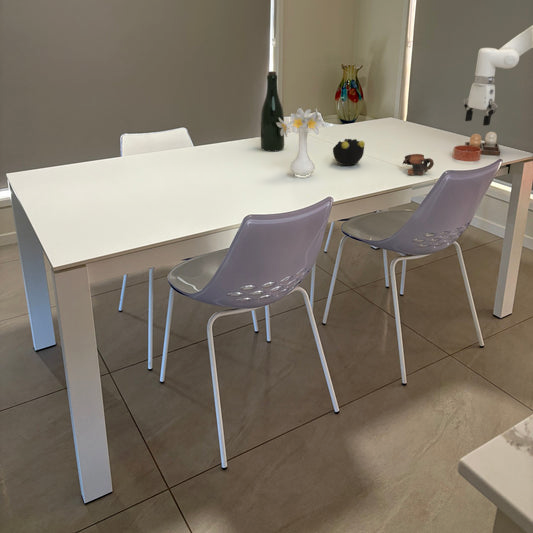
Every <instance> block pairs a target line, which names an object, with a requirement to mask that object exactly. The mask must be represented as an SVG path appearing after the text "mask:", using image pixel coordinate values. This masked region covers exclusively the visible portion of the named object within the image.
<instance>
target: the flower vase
mask: <svg viewBox="0 0 533 533" xmlns="http://www.w3.org/2000/svg"><path fill="white" fill-rule="evenodd" d="M311 112H312V109H310V108H309V109H306V110H305V111H304V110H303V108H301V107H299V108H297V111H296V113H292V112H291V113H290V119H291V121H289V122H288V123H286V122H285V121H284V122H283V121H282V120H281V118H280V117H279V121H280V122H281V123H279V122H277V123H276V124H277V126H278V127H280V128H282V129H281V131H280V133H281V136H283V134H284V137H285V138H288V129H290V128H293V132H294V134H298V147H297V148H298V150H297V154H296V157H295V159H293V161H291V163H290V166H289V170H290V171H291V173H292V174H293V176H294V177H295V178H297V179H307V178H310V177H311V174H313V173H314V171H315V170H316V168H315V167H316V166H315V163H314V161H313V160H311V158H310V156H309V153H308V134H309V133H310V132H311V131H313V133H314V134H316V135H318V134H319V133H320V131H319V128H318V126H322V127H324V128H325V127H326V125H325V124H324V123H323V120H322V119H323V118H322V116H321V114H319V112H318V108H316V107H315V112H313V113H312V114H311ZM310 114H311V115H310ZM294 174H296V175H300V176H306V175H309V174H310V176H308V177H297V176H295V175H294Z"/></svg>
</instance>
